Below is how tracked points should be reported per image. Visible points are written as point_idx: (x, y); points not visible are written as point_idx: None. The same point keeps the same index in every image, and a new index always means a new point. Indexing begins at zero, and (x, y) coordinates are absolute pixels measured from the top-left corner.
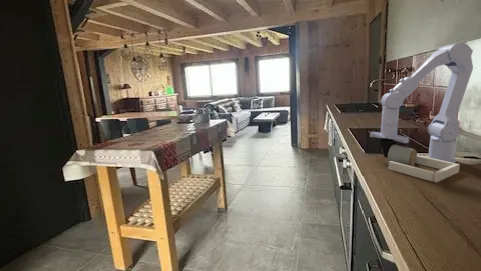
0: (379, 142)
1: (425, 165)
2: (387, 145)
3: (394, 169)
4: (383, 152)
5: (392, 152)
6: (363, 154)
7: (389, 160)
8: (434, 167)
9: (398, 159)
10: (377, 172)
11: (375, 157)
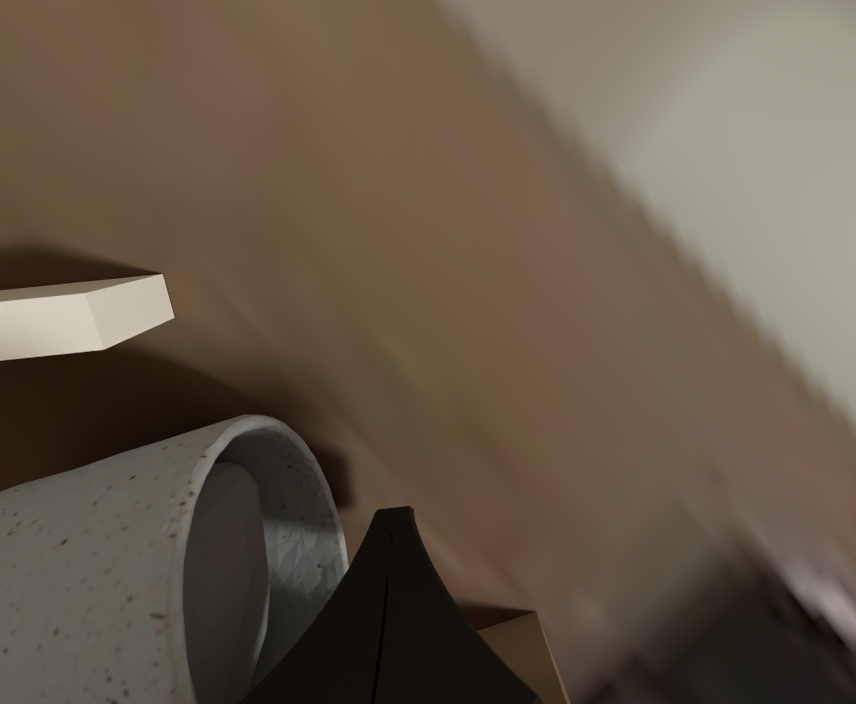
0: (520, 688)
1: None
2: (297, 684)
3: (62, 286)
4: (417, 543)
5: (110, 522)
6: (744, 498)
7: (228, 419)
8: None
9: (70, 474)
10: (106, 6)
11: (579, 518)
